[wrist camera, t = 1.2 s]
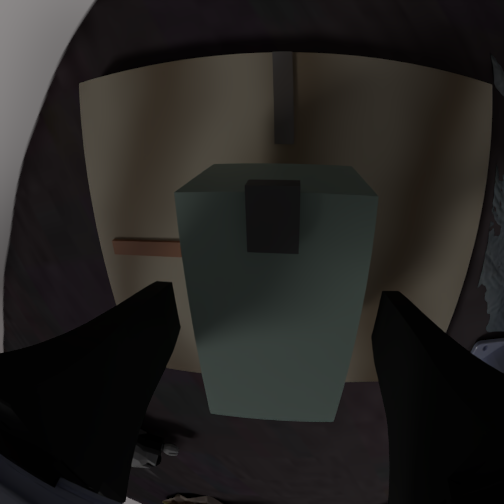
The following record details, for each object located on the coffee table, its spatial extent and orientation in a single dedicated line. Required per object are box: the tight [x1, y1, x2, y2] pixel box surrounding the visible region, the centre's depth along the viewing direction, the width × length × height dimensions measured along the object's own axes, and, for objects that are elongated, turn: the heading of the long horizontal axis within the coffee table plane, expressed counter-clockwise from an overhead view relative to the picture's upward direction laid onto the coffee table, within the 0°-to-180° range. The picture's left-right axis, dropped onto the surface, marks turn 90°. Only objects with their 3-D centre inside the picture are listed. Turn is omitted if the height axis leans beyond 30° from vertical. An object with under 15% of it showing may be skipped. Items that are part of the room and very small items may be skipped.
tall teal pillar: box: [174, 163, 379, 422], centre depth 11 cm, size 5×9×5 cm, turn 2°
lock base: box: [79, 51, 492, 382], centre depth 15 cm, size 20×18×3 cm
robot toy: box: [131, 429, 179, 468], centre depth 26 cm, size 12×4×15 cm
